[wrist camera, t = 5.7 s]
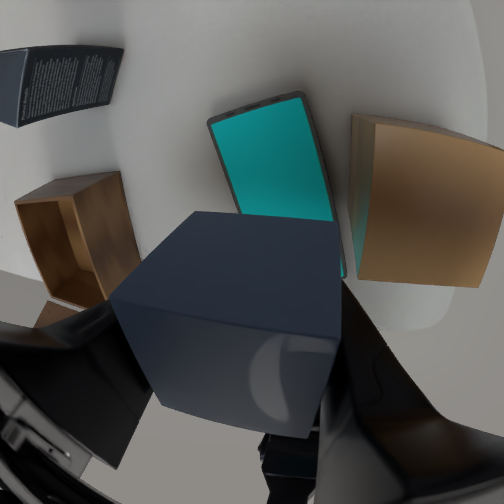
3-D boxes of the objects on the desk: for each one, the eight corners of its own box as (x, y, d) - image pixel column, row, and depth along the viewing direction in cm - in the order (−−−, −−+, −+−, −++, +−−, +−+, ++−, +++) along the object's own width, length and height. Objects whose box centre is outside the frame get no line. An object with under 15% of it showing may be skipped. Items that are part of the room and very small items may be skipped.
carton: (147, 282, 30) (116, 319, 25) (80, 269, 33) (51, 297, 27) (119, 170, 23) (72, 195, 18) (53, 180, 26) (13, 201, 21)
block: (338, 221, 8) (341, 338, 4) (322, 330, 10) (307, 439, 6) (194, 210, 9) (107, 296, 5) (209, 314, 11) (161, 405, 7)
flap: (111, 322, 24) (113, 324, 24) (47, 300, 27) (49, 301, 27) (87, 378, 20) (89, 379, 20) (26, 342, 23) (27, 343, 23)
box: (62, 94, 20) (-21, 115, 11) (74, 44, 17) (-13, 51, 8) (110, 106, 20) (14, 130, 11) (126, 48, 17) (26, 47, 8)
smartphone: (302, 89, 16) (347, 278, 22) (303, 90, 16) (347, 272, 23) (204, 120, 18) (264, 288, 25) (208, 119, 19) (266, 283, 26)
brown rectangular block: (430, 215, 18) (478, 288, 11) (347, 205, 20) (357, 280, 12) (441, 127, 15) (515, 154, 7) (351, 113, 17) (374, 122, 9)
